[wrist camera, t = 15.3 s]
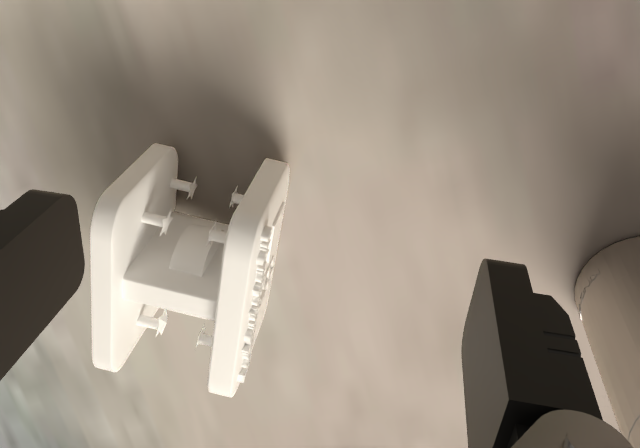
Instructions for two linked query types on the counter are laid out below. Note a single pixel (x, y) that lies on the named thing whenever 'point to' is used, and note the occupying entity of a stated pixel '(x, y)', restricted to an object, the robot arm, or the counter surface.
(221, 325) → the cable organizer
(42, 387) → the counter surface
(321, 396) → the counter surface
